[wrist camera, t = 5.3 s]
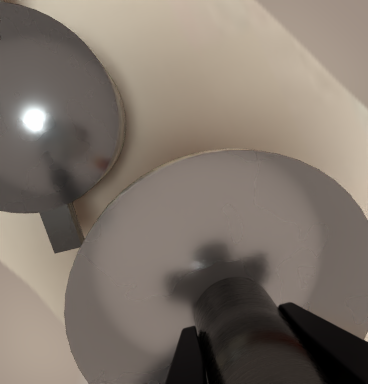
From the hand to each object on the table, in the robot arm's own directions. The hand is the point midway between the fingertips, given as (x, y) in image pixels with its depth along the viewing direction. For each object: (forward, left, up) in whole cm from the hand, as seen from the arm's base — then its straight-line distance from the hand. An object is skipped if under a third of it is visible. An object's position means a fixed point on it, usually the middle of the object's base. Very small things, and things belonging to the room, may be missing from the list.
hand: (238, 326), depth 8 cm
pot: (+8, +8, -12) cm, 16 cm away
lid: (0, 0, -1) cm, 1 cm away
